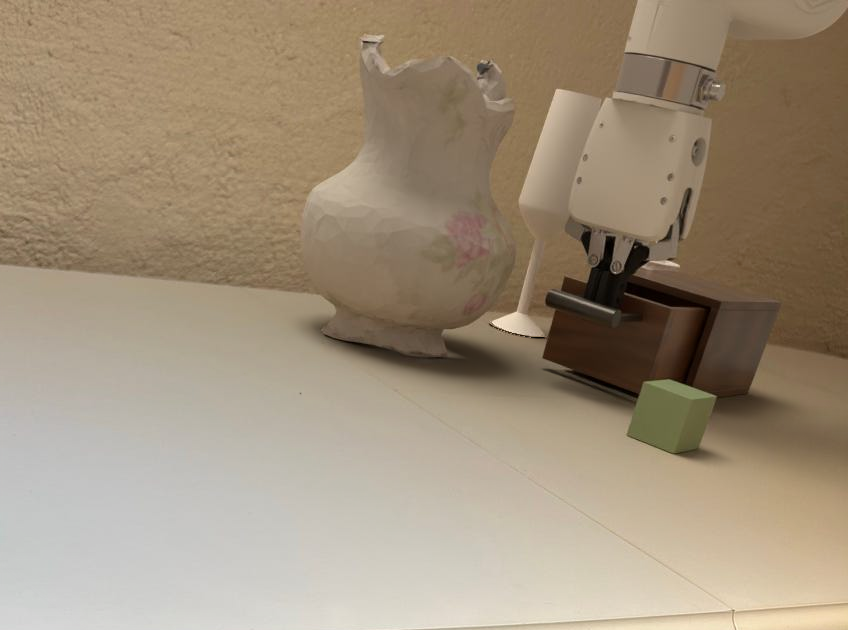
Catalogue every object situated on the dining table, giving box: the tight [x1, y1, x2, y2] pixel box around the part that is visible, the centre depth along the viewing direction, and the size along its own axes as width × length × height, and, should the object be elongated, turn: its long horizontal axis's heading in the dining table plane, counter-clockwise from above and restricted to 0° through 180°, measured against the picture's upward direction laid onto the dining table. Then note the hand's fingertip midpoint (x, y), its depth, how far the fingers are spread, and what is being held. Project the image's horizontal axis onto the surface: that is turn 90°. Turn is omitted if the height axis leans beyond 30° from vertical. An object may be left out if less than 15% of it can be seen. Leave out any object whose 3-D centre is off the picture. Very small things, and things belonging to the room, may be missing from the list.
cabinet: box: [628, 269, 783, 399], centre depth 107 cm, size 15×13×10 cm
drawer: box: [541, 275, 711, 395], centre depth 99 cm, size 19×11×8 cm, turn 137°
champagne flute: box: [491, 88, 602, 336], centre depth 112 cm, size 7×7×24 cm
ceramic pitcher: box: [299, 34, 517, 358], centre depth 94 cm, size 22×20×25 cm
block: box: [626, 379, 718, 455], centre depth 83 cm, size 4×4×4 cm
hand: (597, 316), depth 93 cm, fingers closed
